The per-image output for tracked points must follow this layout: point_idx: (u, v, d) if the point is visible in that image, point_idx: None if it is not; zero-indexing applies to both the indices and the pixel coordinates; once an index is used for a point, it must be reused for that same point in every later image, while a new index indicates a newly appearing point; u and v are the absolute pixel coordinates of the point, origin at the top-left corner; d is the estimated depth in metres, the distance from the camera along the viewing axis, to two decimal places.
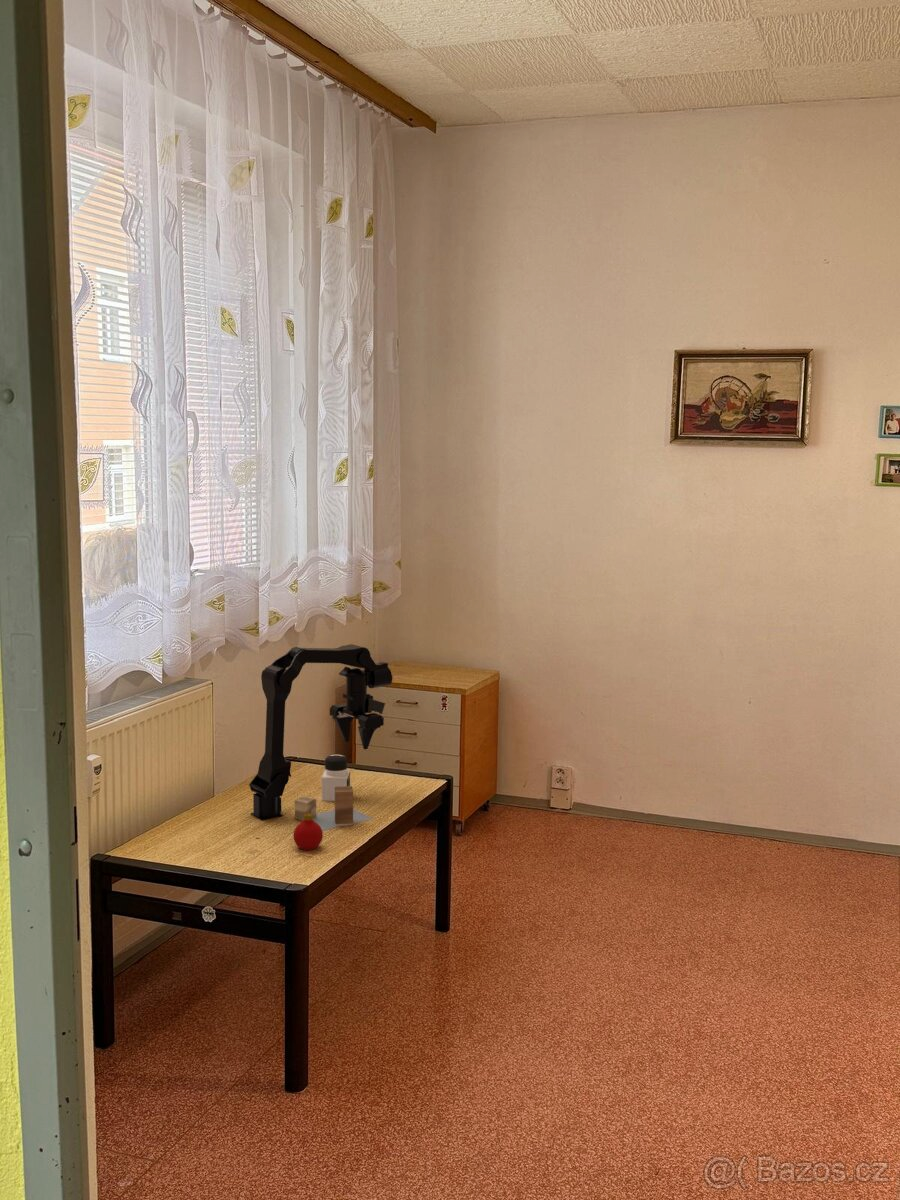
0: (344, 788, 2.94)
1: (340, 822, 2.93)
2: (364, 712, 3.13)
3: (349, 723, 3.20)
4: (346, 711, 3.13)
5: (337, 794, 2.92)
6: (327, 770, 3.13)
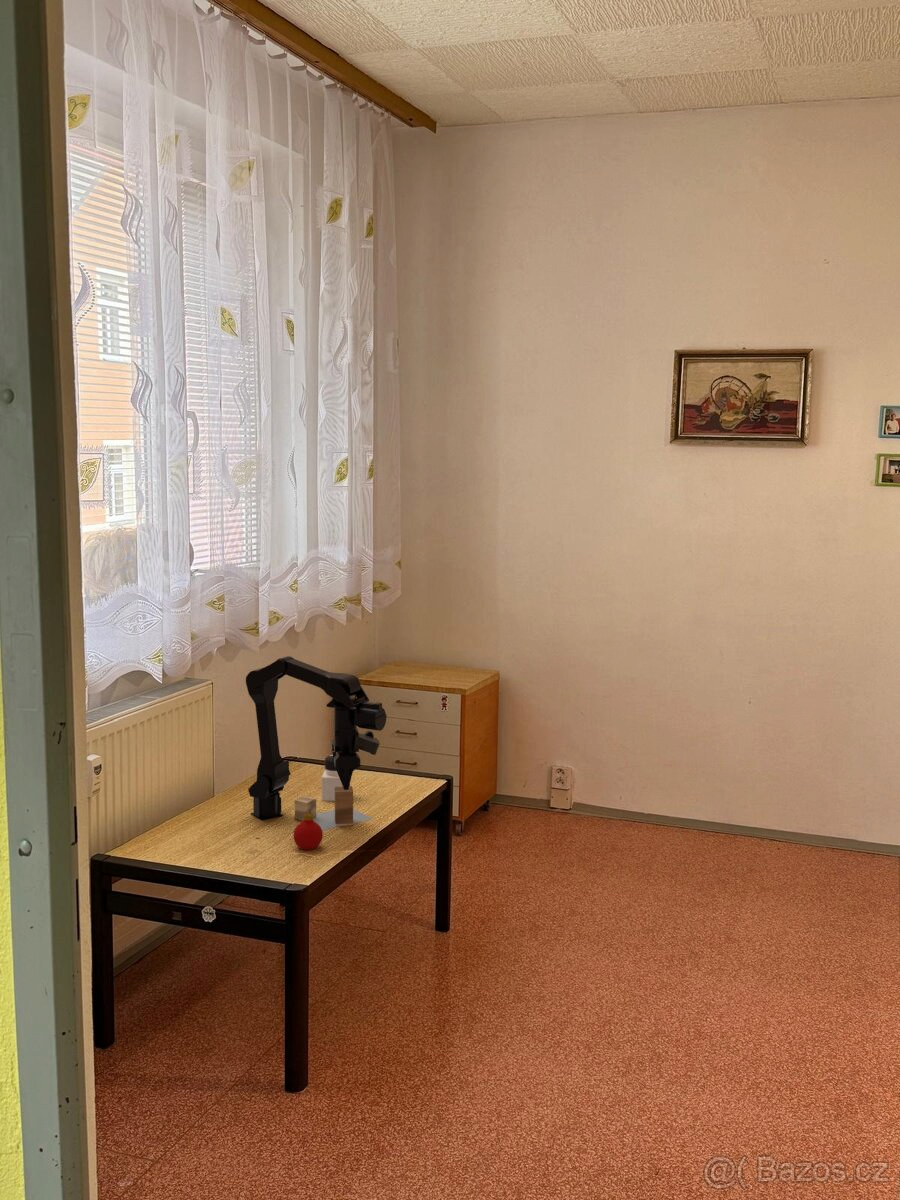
0: None
1: (340, 822, 2.93)
2: (349, 750, 2.84)
3: None
4: None
5: (337, 794, 2.92)
6: (327, 770, 3.13)
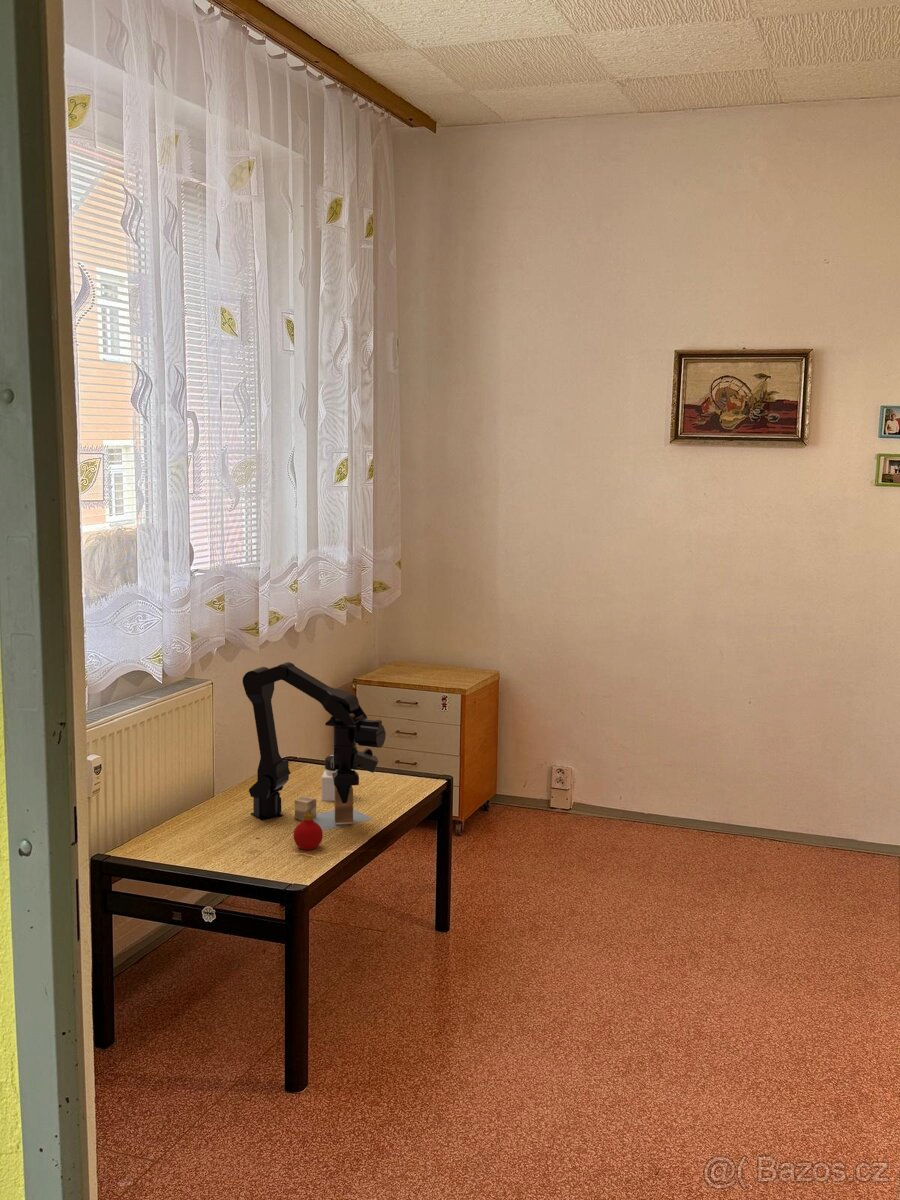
0: None
1: (340, 821, 2.93)
2: (348, 768, 2.87)
3: None
4: None
5: (337, 792, 2.92)
6: (327, 770, 3.13)
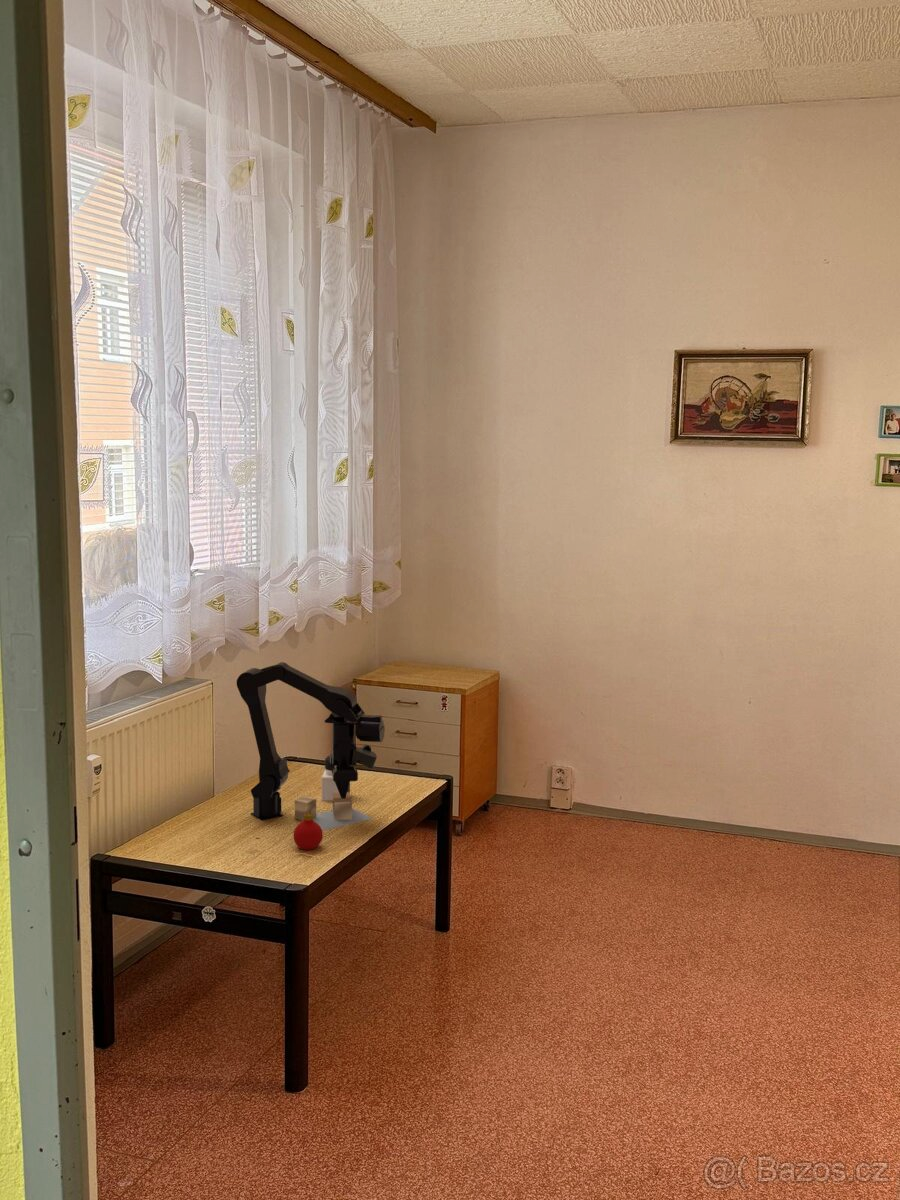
0: None
1: (339, 802, 2.98)
2: (347, 764, 2.92)
3: None
4: (332, 760, 2.95)
5: (334, 793, 3.05)
6: (327, 770, 3.13)
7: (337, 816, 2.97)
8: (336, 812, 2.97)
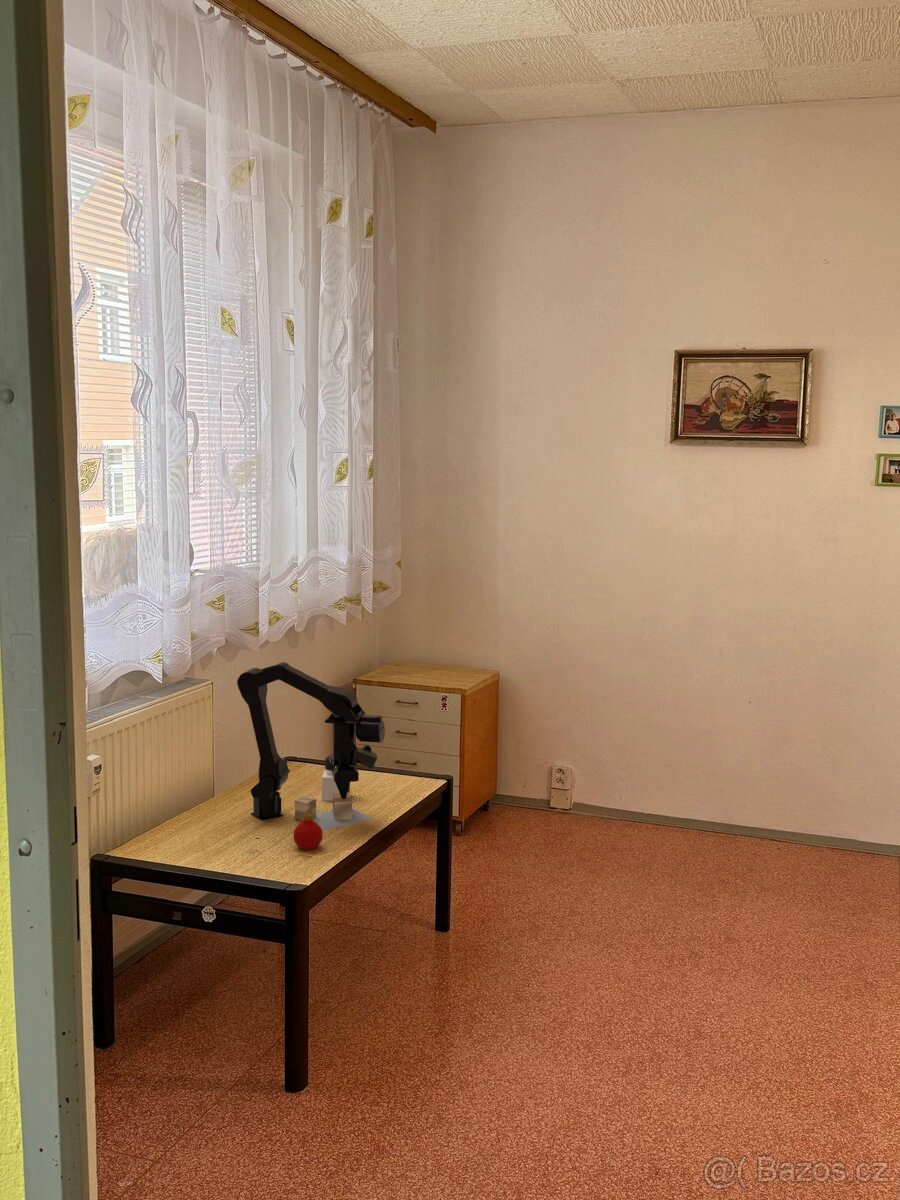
0: None
1: (339, 802, 2.98)
2: (348, 764, 2.92)
3: None
4: (332, 760, 2.94)
5: (334, 793, 3.05)
6: (327, 770, 3.13)
7: (337, 816, 2.97)
8: (336, 812, 2.97)
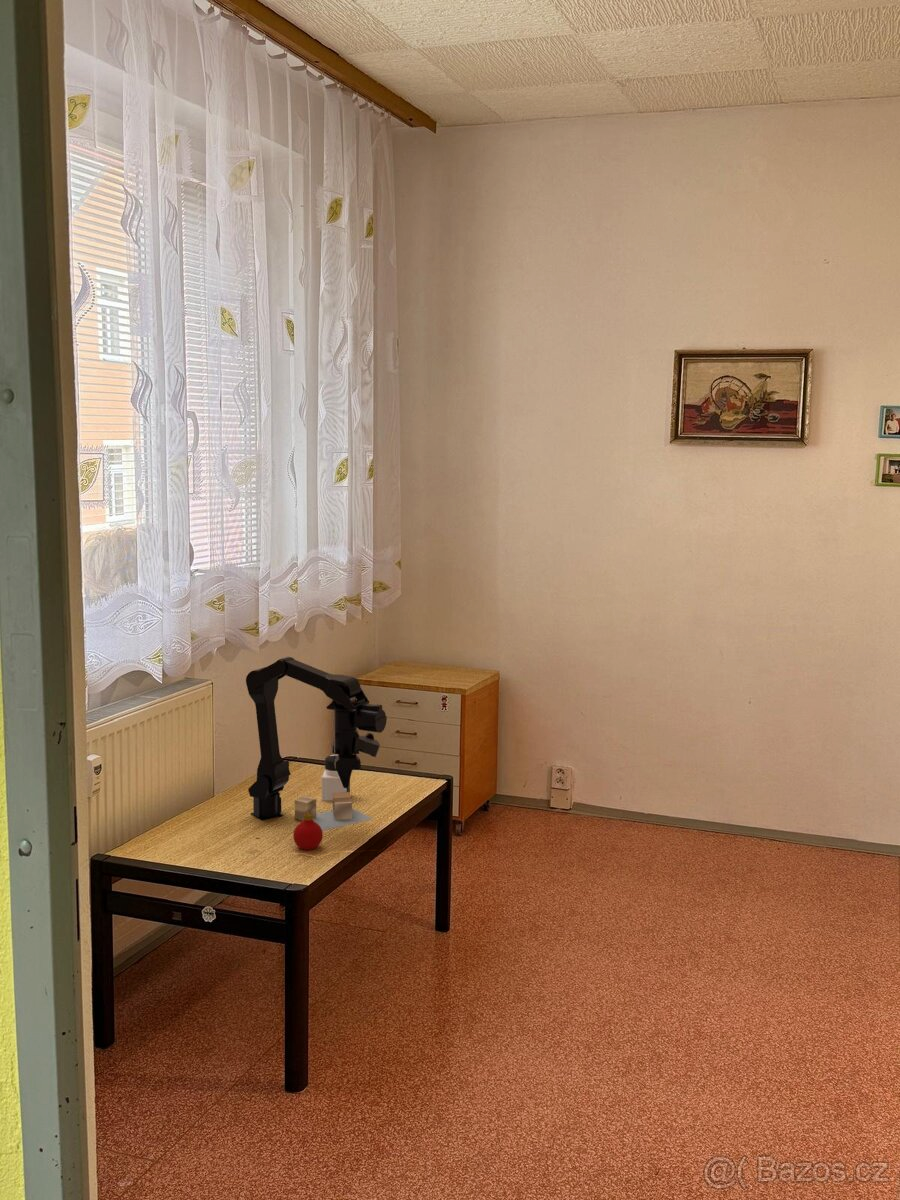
0: None
1: (339, 802, 2.98)
2: (349, 752, 2.84)
3: None
4: (334, 749, 2.87)
5: (334, 793, 3.05)
6: (327, 770, 3.13)
7: (337, 816, 2.97)
8: (336, 812, 2.97)
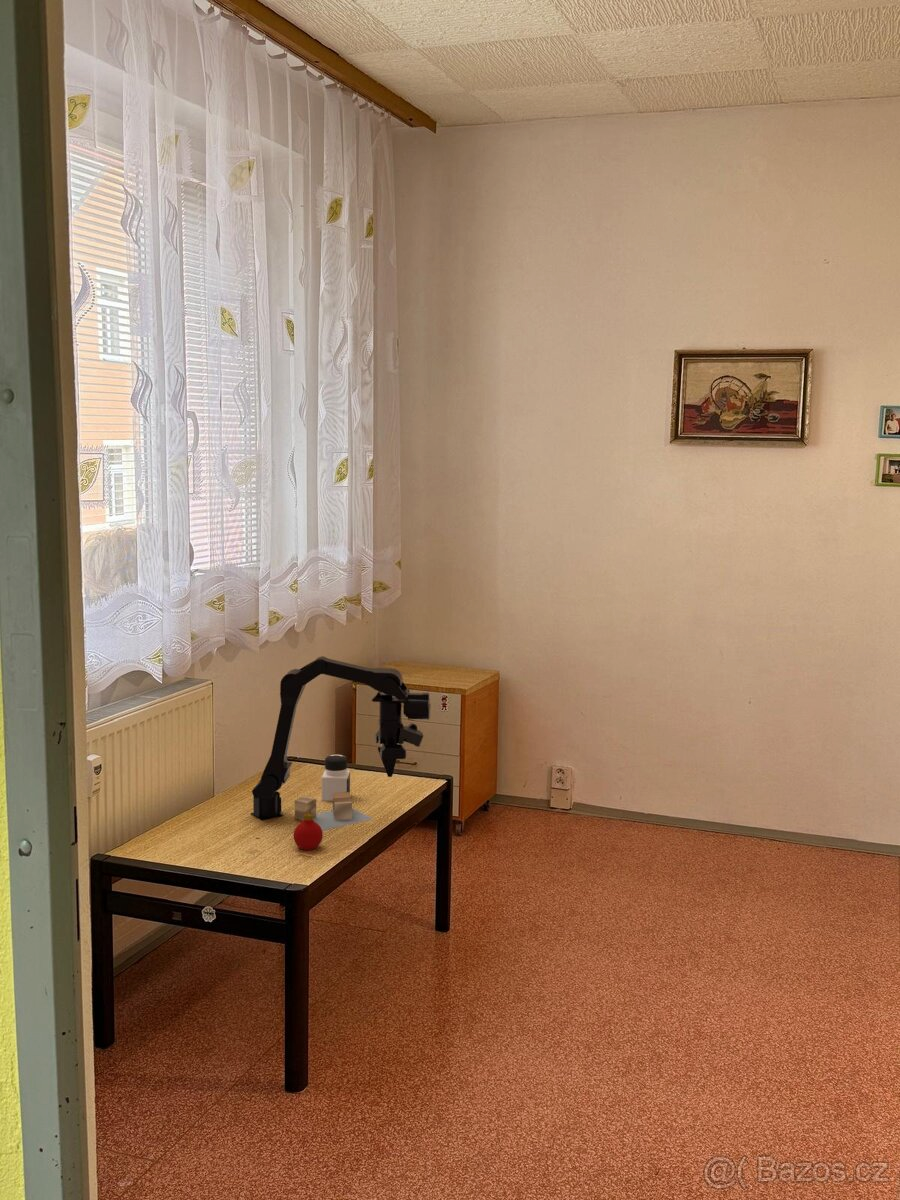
0: None
1: (339, 802, 2.98)
2: (394, 742, 2.93)
3: None
4: None
5: (334, 793, 3.05)
6: (327, 770, 3.13)
7: (337, 816, 2.97)
8: (336, 812, 2.97)
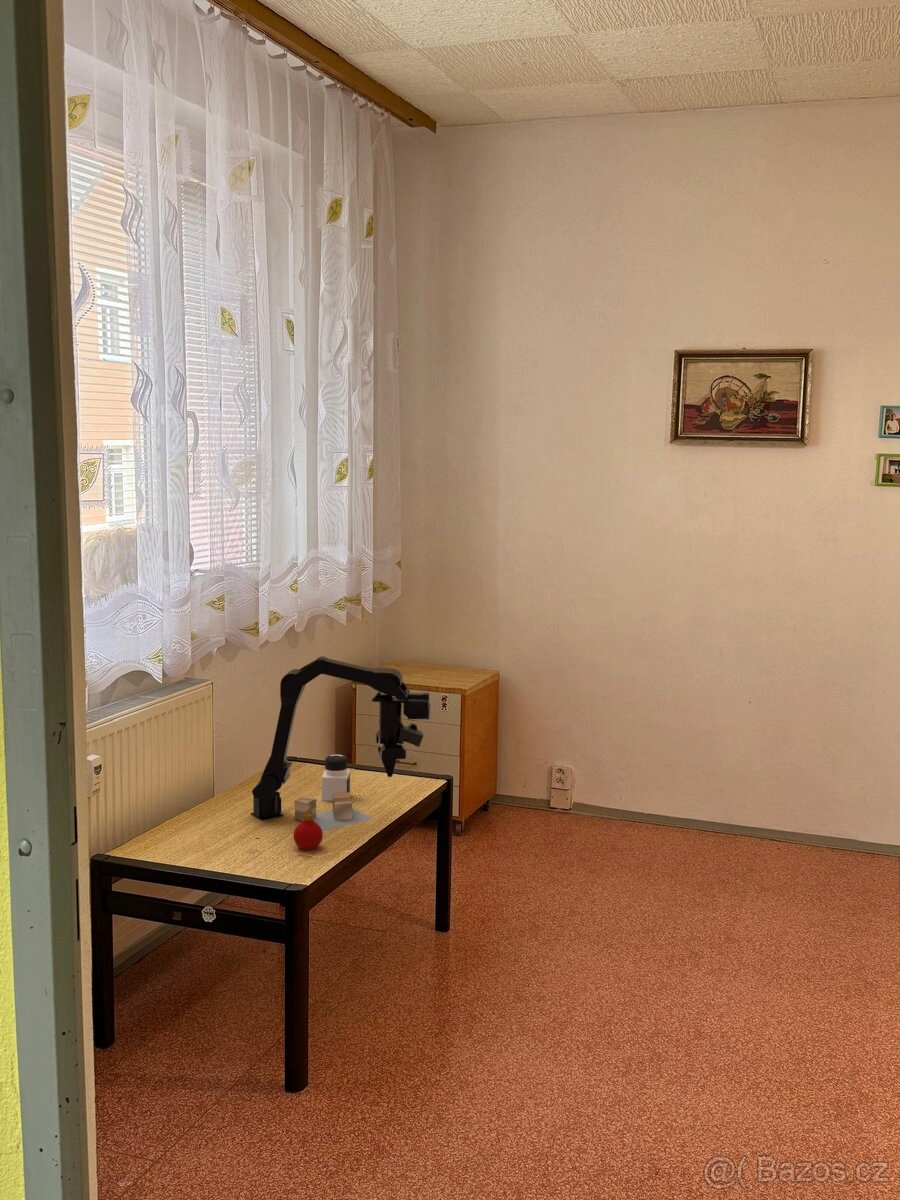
0: None
1: (339, 802, 2.98)
2: (394, 742, 2.93)
3: None
4: None
5: (334, 793, 3.05)
6: (327, 770, 3.13)
7: (337, 816, 2.97)
8: (336, 812, 2.97)
